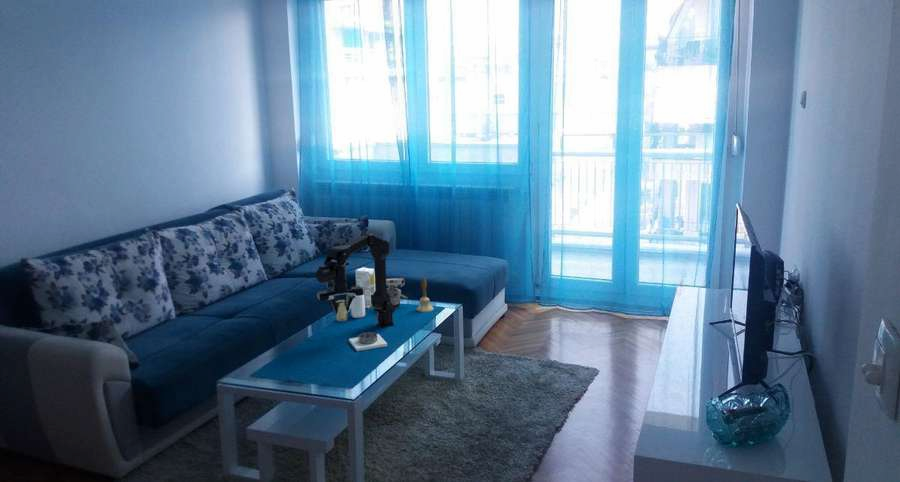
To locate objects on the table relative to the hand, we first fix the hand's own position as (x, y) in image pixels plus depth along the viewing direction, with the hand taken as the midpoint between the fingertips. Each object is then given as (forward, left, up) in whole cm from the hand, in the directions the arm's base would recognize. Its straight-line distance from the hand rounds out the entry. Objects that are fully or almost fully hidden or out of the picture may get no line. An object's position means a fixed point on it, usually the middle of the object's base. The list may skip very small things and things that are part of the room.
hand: (341, 312), depth 293 cm
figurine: (-34, -35, -13) cm, 51 cm away
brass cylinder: (0, 0, -3) cm, 3 cm away
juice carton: (-22, -45, -13) cm, 52 cm away
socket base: (-8, +8, -13) cm, 17 cm away
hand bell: (-46, -26, -13) cm, 55 cm away
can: (-14, -31, -13) cm, 37 cm away
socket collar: (-8, +8, -12) cm, 16 cm away
